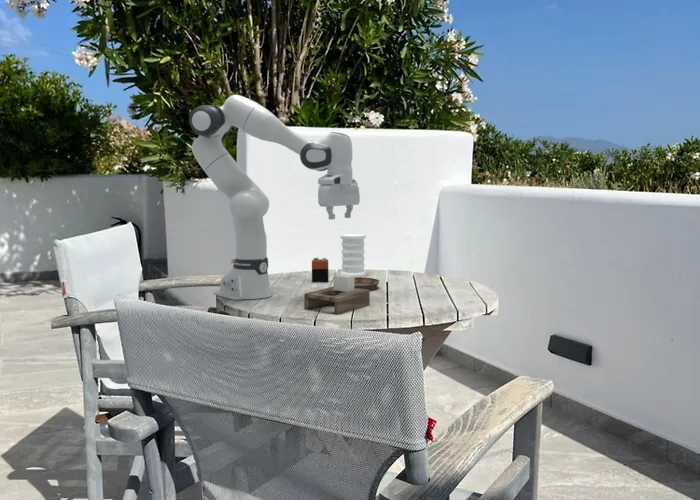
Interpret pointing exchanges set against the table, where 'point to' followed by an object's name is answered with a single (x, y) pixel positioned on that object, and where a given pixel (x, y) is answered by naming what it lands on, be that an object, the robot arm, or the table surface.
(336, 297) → the brown open frame
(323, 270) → the battery
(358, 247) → the decorative container
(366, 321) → the table surface
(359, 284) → the plant saucer
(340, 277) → the gray rectangular block
